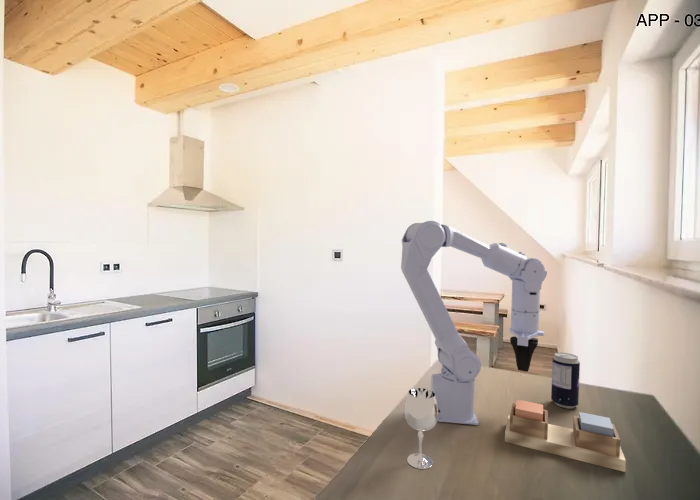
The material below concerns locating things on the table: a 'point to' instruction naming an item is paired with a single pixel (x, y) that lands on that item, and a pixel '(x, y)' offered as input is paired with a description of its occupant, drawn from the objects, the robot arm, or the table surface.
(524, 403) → the terracotta key
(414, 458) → the wineglass
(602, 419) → the slate key
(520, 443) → the wooden socket board
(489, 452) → the table surface
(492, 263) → the robot arm
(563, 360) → the beverage can
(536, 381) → the table surface
